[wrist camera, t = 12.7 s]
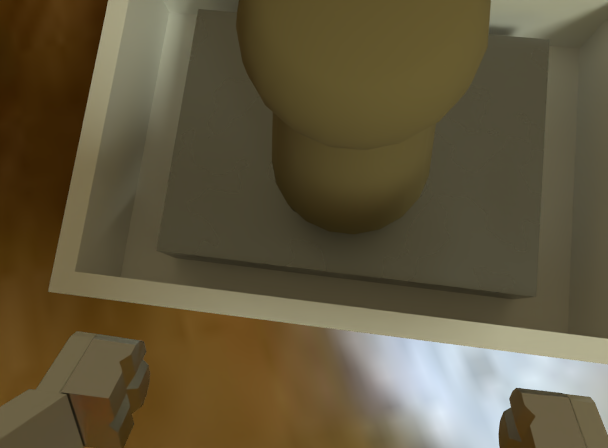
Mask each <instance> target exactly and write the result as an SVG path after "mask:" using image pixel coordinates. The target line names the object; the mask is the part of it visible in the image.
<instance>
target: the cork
mask: <svg viewBox="0 0 608 448" xmlns="http://www.w3.org/2000/svg"><path fill="white" fill-rule="evenodd" d="M490 7H491V0H239V3H238V9H237V19H236V30H237V35H238V41H239V46H240V52H241V57H242V62H243V65H244V67H245V70H246V72H247V74H248V76H249V78H250V80H251V81H252V83H253V85H254V87H255V88H256V90H257V92H258V94H259V95H260V97H261V99H262V101H263V102H264V104H265V106H267V107H268V108H269V109H270V110H271V111H272V112H273V121H272V164H273V169H274V175H275V180H276V184H277V186H278V188H279V189H280V191H281V193H282V195H283V197H284V198H285V200H286V202H287V204H288V205H289V206H290V207H291V208H292V209H293V210H294V211H296V212H297V213H298V214H299V215H300V216H301V217H302V218H303V219H304V220H305V221H307V222H309V223H311V224H314V225H316V226H318V227H320V228H322V229H325V230H327V231H329V232H338V233H346V234H359V233H364V232H369V231H374V230H379V229H381V228H383V227H385V226H387V225H388V224H390V223H392V222H394V221H396V220H397V219H399V218H401V217H402V216H403V215H404V214H405V213H406V212H407V211H408V210H409V209H410V208H411V207H412V205H413V204H414V203H415V202H416V201H417V200H418V199H419V197H420V195H421V192H422V190H423V188H424V186H425V183H426V181H427V179H428V177H429V171H430V164H431V156H432V149H433V142H434V134H435V127H436V123H438V122H439V121H440V120H441V119H442V118H443V117H444V116H445V115H446V114H447V113H448V112H449V110H450V109H451V108H452V107H453V106H454V105H455V104H456V103H457V102H458V101H459V100H460V99H461V98H462V96H463V95H464V94H465V93H466V91H467V90H468V88H469V86H470V85H471V83H472V81H473V79H474V77H475V74H476V72H477V70H478V68H479V65H480V63H481V61H482V59H483V56H484V54H485V52H486V50H487V47H488V35H489V21H490Z"/></svg>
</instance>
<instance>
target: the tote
mask: <svg viewBox="0 0 608 448" xmlns="http://www.w3.org/2000/svg"><path fill="white" fill-rule="evenodd" d="M238 3H239V0H108V4H107V9H106V14H105V19H104V23H103V28H102V33H101V38H100V43H99V48H98V53H97V57H96V62H95V67H94V72H93V77H92V82H91V86H90V91H89V96H88V101H87V106H86V111H85V116H84V120H83V125H82V130H81V135H80V140H79V145H78V149H77V154H76V159H75V164H74V169H73V174H72V178H71V183H70V188H69V193H68V198H67V203H66V208H65V212H64V217H63V222H62V227H61V232H60V237H59V241H58V246H57V251H56V256H55V261H54V266H53V271H52V275H51V280H50V285H49V290H48V292H54V293H62V294H70V295H78V296H85V297H93V298H101V299H108V300H116V301H124V302H131V303H139V304H147V305H155V306H162V307H170V308H178V309H185V310H193V311H201V312H209V313H216V314H224V315H232V316H239V317H247V318H255V319H263V320H270V321H278V322H286V323H293V324H301V325H309V326H317V327H324V328H332V329H340V330H347V331H355V332H363V333H370V334H378V335H386V336H394V337H401V338H409V339H417V340H424V341H432V342H440V343H448V344H455V345H463V346H471V347H478V348H486V349H494V350H502V351H509V352H517V353H525V354H532V355H540V356H548V357H555V358H563V359H571V360H579V361H586V362H594V363H602V364H608V0H491V7H490V21H489V34H491V35H503V36H514V37H526V38H537V39H549V40H550V42H549V61H548V80H547V99H546V118H545V138H544V157H543V176H542V195H541V214H540V233H539V252H538V271H537V290H536V297H530V298H521V299H505V298H497V297H489V296H481V295H473V294H465V293H456V292H448V291H440V290H432V289H424V288H416V287H407V286H399V285H391V284H383V283H375V282H367V281H359V280H350V279H342V278H334V277H326V276H318V275H310V274H301V273H293V272H285V271H277V270H269V269H261V268H252V267H244V266H236V265H228V264H220V263H212V262H204V261H195V260H187V259H179V258H174V257H171V256H169V255H166V254H164V253H161V252H159V251H156V248H157V242H158V237H159V231H160V225H161V219H162V214H163V208H164V202H165V197H166V191H167V185H168V179H169V174H170V168H171V162H172V156H173V151H174V145H175V139H176V134H177V128H178V122H179V116H180V111H181V105H182V99H183V93H184V88H185V82H186V76H187V71H188V65H189V59H190V53H191V48H192V42H193V36H194V30H195V25H196V19H197V13H198V9H204V10H216V11H227V12H237V9H238Z"/></svg>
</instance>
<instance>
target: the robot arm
mask: <svg viewBox="0 0 608 448" xmlns="http://www.w3.org/2000/svg"><path fill="white" fill-rule="evenodd" d="M145 353H146V349H145V345H144V342H143V341H139V340H132V339H126V338H120V337H113V336H107V335H100V334H93V333H86V332H78V331H77V332H75V333H74V334H73V335H72V336H70V338H69V339H68V341H67V342H66V344H65V345H64V347H63V348H62V350H61V352H60V353H59V355H58V356H57V358H56V359H55V361H54V362H53V364H52V365H51V367H50V368H49V370H48V371H47V373H46V375H45V376H44V378H43V379H42V381H41V382H40V384H39V385H38V387H37V388H36V390H33V389H28V390H27V391H25V392H24V393H22V394H20V395H19V396H17V397H15V398H14V399H12V400H11V401H9V402H7V403H6V404H4V405H3V406H1V407H0V448H84V447H91V448H124V446H125V444H126V441H127V439H128V437H129V434H130V432H131V430H132V428H133V425H134V421H133V417H132V413H134V412H135V411H136V410H138V409H139V408H140V407H142V405H143V402H144V400H145V397H146V395H147V390H148V386H149V380H150V371H149V365H148V364H147V363H146V362H145V361H144V360H143V357H144V355H145ZM509 399H510V404H511V408H509V409H508V410H506V411H504V412H503V415H502V417H501V420H500V426H499V446H500V448H608V435H607V432H606V430H605V427H604V425H603V422H602V420H601V417H600V415H599V412H598V410H597V407H596V405H595V402H594V401H593V400H592V399H591V398H590V397H585V396H577V395H569V394H563V393H556V392H547V391H539V390H530V389H521V388H516V389H515V390H513V392H512V394H511V396H510V398H509Z"/></svg>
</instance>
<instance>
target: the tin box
mask: <svg viewBox="0 0 608 448" xmlns="http://www.w3.org/2000/svg"><path fill="white" fill-rule="evenodd" d="M236 19H237V12H227V11H216V10H204V9H198V13H197V19H196V25H195V30H194V36H193V42H192V48H191V53H190V59H189V65H188V71H187V76H186V82H185V88H184V93H183V99H182V105H181V111H180V116H179V122H178V128H177V134H176V139H175V145H174V151H173V156H172V162H171V168H170V174H169V179H168V185H167V191H166V197H165V202H164V208H163V214H162V219H161V225H160V231H159V237H158V242H157V248H156V251H159V252H161V253H164V254H166V255H169V256H171V257H174V258H179V259H187V260H195V261H204V262H212V263H220V264H228V265H236V266H244V267H252V268H261V269H269V270H277V271H285V272H293V273H301V274H310V275H318V276H326V277H334V278H342V279H350V280H359V281H367V282H375V283H383V284H391V285H399V286H407V287H416V288H424V289H432V290H440V291H448V292H456V293H465V294H473V295H481V296H489V297H497V298H505V299H521V298H530V297H536V290H537V271H538V252H539V233H540V214H541V195H542V176H543V157H544V138H545V118H546V99H547V80H548V61H549V42H550V40H549V39H537V38H526V37H514V36H503V35H491V34H489V35H488V47H487V50H486V52H485V54H484V56H483V59H482V61H481V63H480V65H479V68H478V70H477V72H476V74H475V77H474V79H473V81H472V83H471V85H470V86H469V88H468V90H467V91H466V93H465V94H464V95H463V96H462V98H461V99H460V100H459V101H458V102H457V103H456V104H455V105H454V106H453V107H452V108H451V109H450V110H449V112H448V113H447V114H446V115H445V116H444V117H443V118H442V119H441V120H440V121H439V122H438V123H436V127H435V134H434V142H433V149H432V156H431V164H430V171H429V177H428V179H427V181H426V183H425V186H424V188H423V190H422V192H421V195H420V197H419V199H418V200H417V201H416V202H415V203H414V204H413V205H412V207H411V208H410V209H409V210H408V211H407V212H406V213H405V214H404V215H403V216H402V217H401V218H399V219H397V220H396V221H394V222H392V223H390V224H388V225H387V226H385V227H383V228H381V229H379V230H374V231H369V232H364V233H359V234H346V233H338V232H329V231H327V230H325V229H322V228H320V227H318V226H316V225H314V224H311V223H309V222H307V221H305V220H304V219H303V218H302V217H301V216H300V215H299V214H298V213H297V212H296V211H294V210H293V209H292V208H291V207H290V206H289V205H288V204H287V202H286V200H285V198H284V197H283V195H282V193H281V191H280V189H279V188H278V186H277V184H276V180H275V175H274V169H273V164H272V121H273V112H272V111H271V110H270V109H269V108H268V107H267V106H265V104H264V102H263V101H262V99H261V97H260V95H259V94H258V92H257V90H256V88H255V87H254V85H253V83H252V81H251V80H250V78H249V76H248V74H247V72H246V70H245V67H244V65H243V62H242V57H241V52H240V46H239V41H238V35H237V30H236Z"/></svg>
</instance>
